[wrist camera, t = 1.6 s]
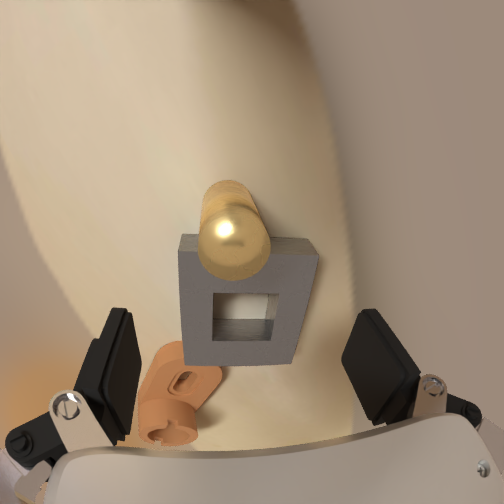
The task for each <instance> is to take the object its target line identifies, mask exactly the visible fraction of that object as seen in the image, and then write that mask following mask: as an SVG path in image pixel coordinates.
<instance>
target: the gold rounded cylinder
mask: <svg viewBox="0 0 504 504" xmlns="http://www.w3.org/2000/svg"><path fill="white" fill-rule="evenodd" d="M270 250H271V243H270V238H269V236H268V233H267V231H266V229H265V226H264V224H263V222H262V220H261V217H260V215H259V213H258V211H257V208H256V206H255V204H254V202H253V199H252V197H251V195H250V193H249V191H248V190H247V189H246V188H245V187H244V186H243V185H242V184H240V183H238V182H236V181H231V180H225V181H220V182H217V183H215V184H214V185H212V186H211V187H210V188H209V189H208V190H207V192H206V193H205V195H204V198H203V204H202V212H201V221H200V230H199V240H198V256H199V259H200V261H201V263H202V265H203V266H204V268H205V269H206V270H207V271H208V272H209V273H210V274H212V275H214V276H215V277H217V278H220V279H223V280H229V281H237V280H243V279H246V278H249V277H251V276H253V275H254V274H256V273H257V272H259V271H260V270H261V269H262V268H263V267H264V265H265V264H266V262H267V260H268V258H269V255H270Z"/></svg>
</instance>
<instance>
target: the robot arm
mask: <svg viewBox="0 0 504 504" xmlns="http://www.w3.org/2000/svg"><path fill="white" fill-rule="evenodd" d="M341 361H342V364H343V366H344V368H345V371H346V373H347V375H348V377H349V379H350V381H351V383H352V385H353V388H354V390H355V392H356V394H357V396H358V398H359V400H360V402H361V405H362V407H363V409H364V411H365V414H366V416H367V418H368V419H369V420H371V421H372V423H373V425H374V426H375V425H379V424H382V423H384V422H386V424H387V426H383V427H380V428H376V429H372V430H369V431H365V432H361V433H357V434H353V435H348V436H344V437H339V438H334V439H329V440H324V441H319V442H313V443H307V444H300V445H293V446H286V447H277V448H267V449H255V450H239V451H179V450H160V449H148V448H134V447H118V446H115V445H117V440H120V441H125V435H129V434H130V430H131V424H132V417H133V411H134V405H135V398H136V393H137V388H138V382H139V377H140V372H141V366H142V361H141V356H140V351H139V347H138V342H137V337H136V332H135V327H134V322H133V316H132V313H131V312H128V311H127V309H126V308H114V307H113V308H112V309H111V311H110V314H109V316H108V318H107V321H106V323H105V326H104V328H103V331H102V333H101V335H100V338H99V339H96V338H94V339H93V340H92V342H91V344H90V347H89V349H88V352H87V354H86V357H85V360H84V362H83V365H82V367H81V370H80V373H79V375H78V378H77V381H76V384H75V386H74V389H73V390H64V391H60V392H58V393H57V394H55V395H54V396H53V397H52V398H51V400H50V403H49V412H47V413H45V414H43V415H41V416H39V417H37V418H35V419H33V420H31V421H29V422H27V423H25V424H23V425H21V426H19V427H17V428H15V429H13V430H12V431H10V433H9V434H8V435H7V437H6V440H5V446H6V447H5V448H4V449H3V450H1V449H0V504H35V497H36V495H37V494H38V492H39V491H40V490H41V488H40V486H41V485H42V484H43V483H44V482H48V484H47V488H46V492H45V497H44V503H43V504H504V481H503V479H502V476H501V474H502V471H503V469H504V431H503V430H502V429H501V428H499V427H498V426H497V425H495V424H494V423H492V422H491V421H490V420H488V419H487V418H485V417H484V418H483V419H482V414H481V411H480V409H479V408H478V407H477V406H476V405H475V404H473V403H471V402H468V401H466V400H463V399H461V398H458V397H456V396H453V395H451V394H448V393H447V386H446V384H445V382H444V381H443V380H442V379H441V378H439V377H438V376H436V375H432V374H426V375H424V376H422V377H420V376H419V374H420V373H421V371H420V370H419V368H418V367H417V365H416V364H415V362H414V361H413V360H412V358H411V357H410V355H409V354H408V353H407V351H406V349H405V348H404V347H403V345H402V344H401V342H400V341H399V340H398V338H397V337H396V335H395V334H394V333H393V331H392V330H391V328H390V327H389V326H388V324H387V323H386V322H385V320H384V319H383V317H382V316H381V315H380V313H379V312H378V311H377V310H376V309H364V310H362V311H361V313H359V314H358V316H357V319H356V321H355V324H354V327H353V329H352V332H351V334H350V337H349V339H348V342H347V344H346V347H345V349H344V352H343V354H342V358H341Z"/></svg>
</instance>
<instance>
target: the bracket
mask: <svg viewBox="0 0 504 504" xmlns="http://www.w3.org/2000/svg"><path fill="white" fill-rule="evenodd" d="M188 371H190V372H191V373H190V374H189V376H188V377H187V378H186V379H184V380H178V378H179V376H180V375H181V374H182V373H184V372H188ZM221 379H222V370H221V366H186V365H185V364H184V353H183V341H175V342H172V343H169V344H167V345H165V346H163V347H162V348H161V349H160V350H159V351H158V352H157V354H156V356H155V358H154V360H153V362H152V364H151V366H150V368H149V370H148V372H147V375H146V377H145V379H144V381H143V383H142V385H141V387H140V390H139V392H138V423H139V424H138V426H139V436H140V438H141V439H142V440H144V441H146V442H148V443H151V444H153V443H154V442H155V440H158V441H161V445H162V446H177V445H184V444H188V443H190V442H193V441H194V440H196V439H197V437H198V432H197V426H196V420H195V412H196V411H197V409H198V408H199V407H200V406H201V405H202V403H203V402H204V401H205V400H206V399H207V397H208V396H209V395H210V394H211V393H212V391H213V390H214V389H215V388H216V386H217V385H218V384H219V383H220V381H221Z"/></svg>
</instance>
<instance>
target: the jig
mask: <svg viewBox="0 0 504 504" xmlns="http://www.w3.org/2000/svg"><path fill="white" fill-rule="evenodd" d="M269 238H270V243H271V250H270V255H269V258H268V260H267V262H266V264H265V265H264V267H263V268H262V269H261V270H260V271H259V272H257V273H256V274H254V275H253V276H251V277H249V278H246V279H243V280H237V281H229V280H223V279H220V278H217V277H215V276H214V275H212V274H210V273H209V272H208V271H207V270H206V269H205V268H204V266H203V265H202V263H201V261H200V259H199V256H198V240H199V234H182V237H181V241H180V245H179V249H178V267H179V293H180V312H181V328H182V341H183V353H184V364H185V365H186V366H258V365H279V364H291V363H292V359H293V356H294V353H295V349H296V346H297V342H298V338H299V335H300V331H301V327H302V324H303V320H304V316H305V312H306V309H307V305H308V301H309V297H310V293H311V289H312V285H313V280H314V276H315V272H316V268H317V263H318V259H319V254H318V253H317V252H316V250H315V249H314V247H313V246H312V244H311V243H310V242H309V240H308V239H299V238H277V237H269ZM213 293H266V294H269V299H268V305H267V311H266V317H265V319H213Z"/></svg>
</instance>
